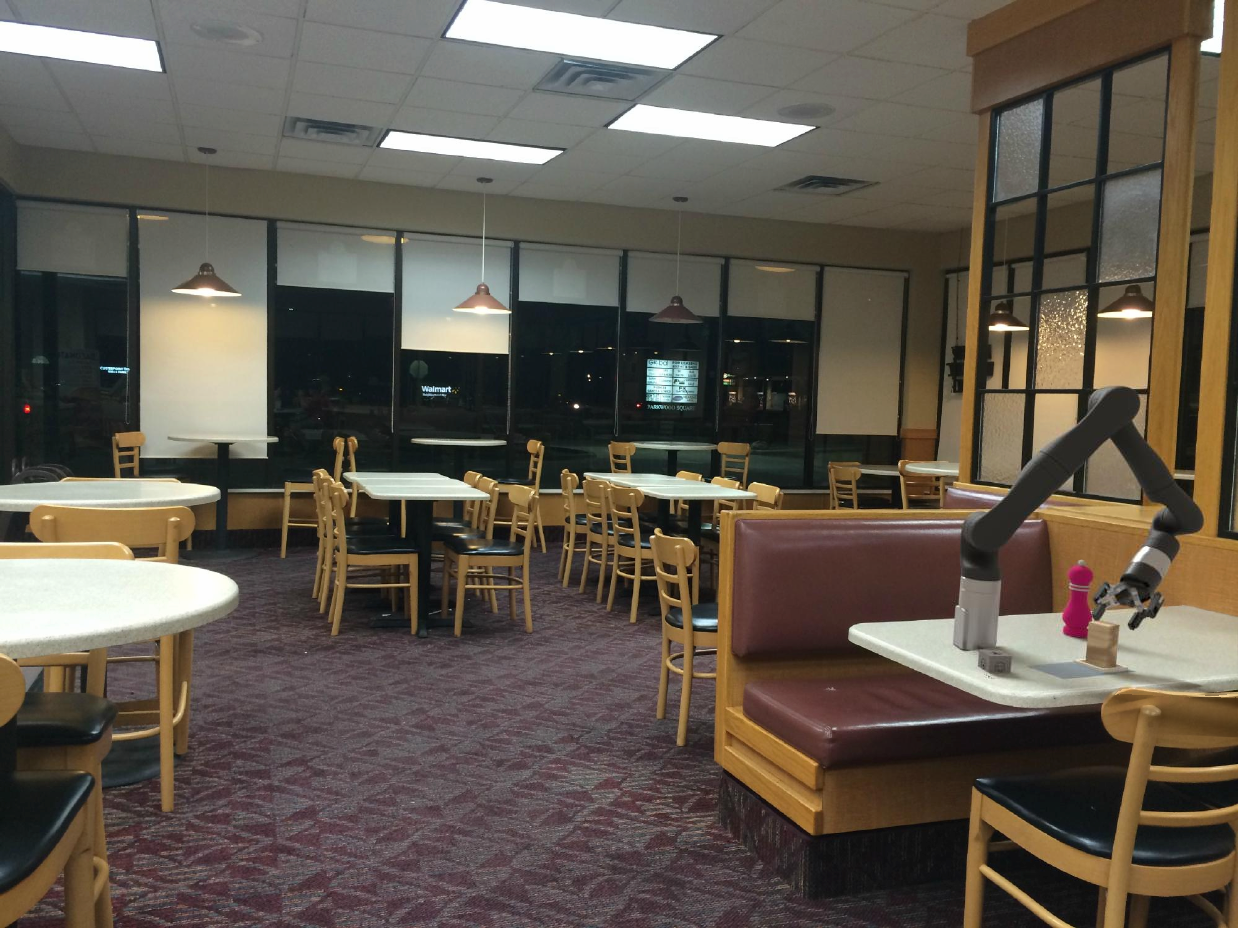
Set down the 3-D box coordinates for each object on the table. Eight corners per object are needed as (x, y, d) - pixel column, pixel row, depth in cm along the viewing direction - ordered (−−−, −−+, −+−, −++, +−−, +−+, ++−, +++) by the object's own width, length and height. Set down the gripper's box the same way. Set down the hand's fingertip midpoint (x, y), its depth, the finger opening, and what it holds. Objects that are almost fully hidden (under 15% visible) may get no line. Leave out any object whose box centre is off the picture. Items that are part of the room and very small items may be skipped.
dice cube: (987, 678, 208) (989, 655, 207) (977, 671, 213) (979, 649, 212) (1010, 678, 208) (1011, 656, 208) (998, 672, 213) (1000, 650, 213)
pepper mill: (1087, 639, 249) (1094, 563, 247) (1057, 634, 253) (1064, 559, 252) (1093, 634, 255) (1099, 560, 253) (1064, 629, 259) (1070, 556, 258)
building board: (1063, 684, 206) (1064, 674, 206) (1026, 671, 215) (1027, 662, 215) (1134, 676, 215) (1135, 667, 214) (1096, 664, 224) (1097, 656, 224)
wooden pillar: (1103, 670, 214) (1107, 626, 213) (1085, 665, 218) (1088, 621, 217) (1115, 668, 216) (1119, 624, 216) (1097, 663, 220) (1100, 620, 219)
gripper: (1111, 555, 227) (1077, 606, 222) (1171, 565, 215) (1136, 619, 210) (1122, 576, 230) (1089, 626, 225) (1182, 587, 218) (1148, 641, 213)
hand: (1112, 623), depth 218 cm, fingers open, 8 cm apart
